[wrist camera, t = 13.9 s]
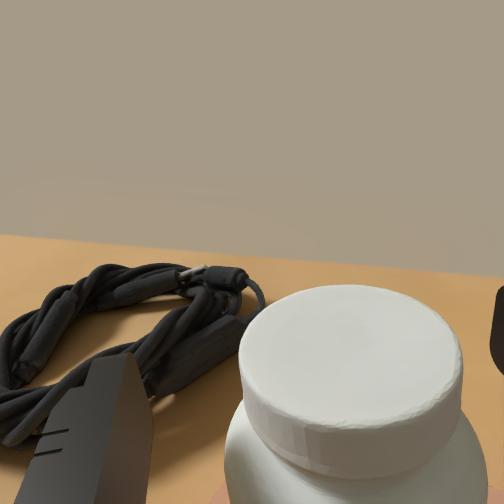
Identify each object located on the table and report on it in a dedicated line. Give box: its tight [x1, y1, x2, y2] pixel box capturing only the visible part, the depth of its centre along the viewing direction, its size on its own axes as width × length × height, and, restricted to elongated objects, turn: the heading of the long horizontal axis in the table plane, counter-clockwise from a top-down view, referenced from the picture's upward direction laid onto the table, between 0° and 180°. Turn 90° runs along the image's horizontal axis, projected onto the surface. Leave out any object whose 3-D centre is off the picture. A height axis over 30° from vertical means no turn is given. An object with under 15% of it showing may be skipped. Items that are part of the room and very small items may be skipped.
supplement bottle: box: [224, 285, 488, 504], centre depth 10 cm, size 5×5×10 cm
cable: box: [0, 263, 265, 450], centre depth 25 cm, size 17×14×4 cm
